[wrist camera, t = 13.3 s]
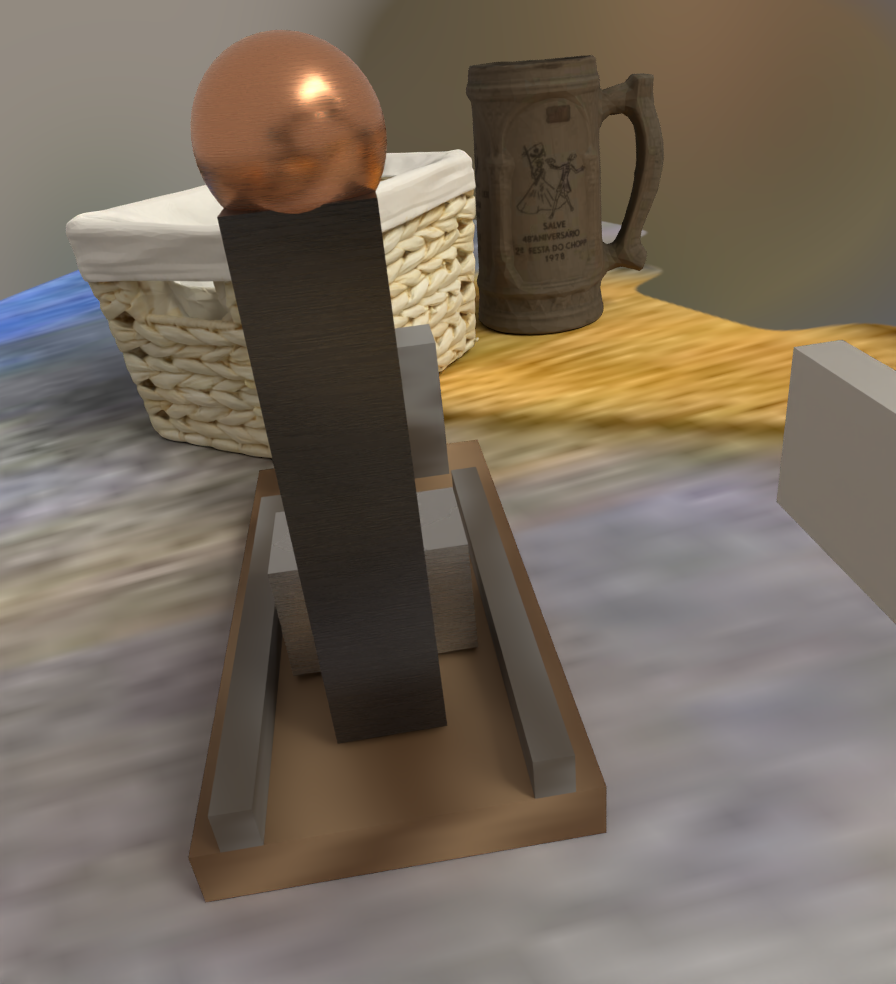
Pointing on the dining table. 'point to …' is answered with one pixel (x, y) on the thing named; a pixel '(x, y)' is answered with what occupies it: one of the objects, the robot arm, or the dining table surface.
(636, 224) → the beer stein
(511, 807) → the base
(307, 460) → the handle
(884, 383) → the robot arm
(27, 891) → the dining table surface
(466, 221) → the storage basket
